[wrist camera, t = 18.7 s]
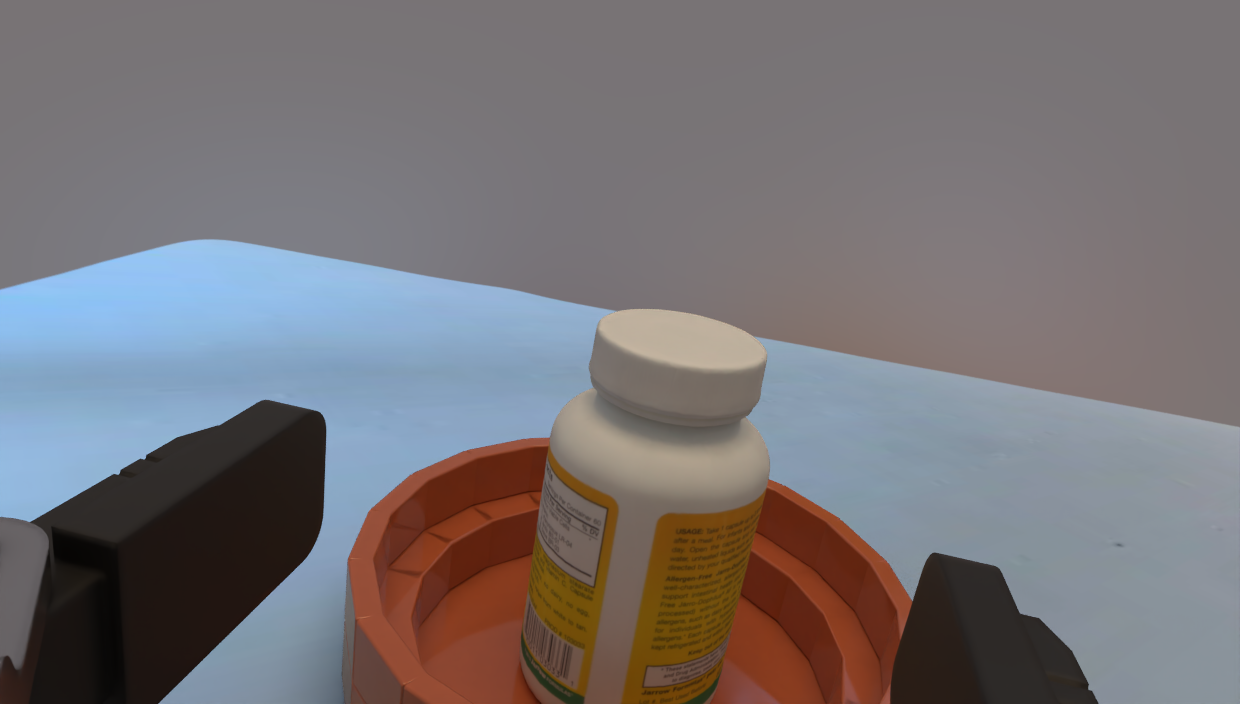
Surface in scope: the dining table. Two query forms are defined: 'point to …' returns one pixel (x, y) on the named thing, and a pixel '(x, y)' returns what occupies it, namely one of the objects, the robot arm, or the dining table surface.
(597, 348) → the supplement bottle
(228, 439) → the robot arm
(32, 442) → the dining table surface
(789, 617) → the bowl
